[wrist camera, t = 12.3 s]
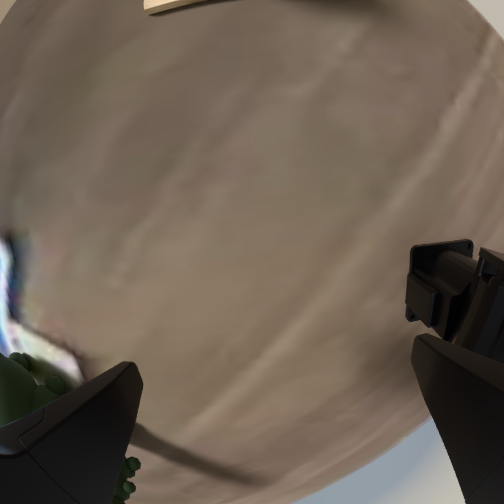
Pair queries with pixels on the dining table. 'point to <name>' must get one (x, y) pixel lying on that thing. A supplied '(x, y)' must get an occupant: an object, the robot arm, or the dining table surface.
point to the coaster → (165, 5)
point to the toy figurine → (37, 396)
